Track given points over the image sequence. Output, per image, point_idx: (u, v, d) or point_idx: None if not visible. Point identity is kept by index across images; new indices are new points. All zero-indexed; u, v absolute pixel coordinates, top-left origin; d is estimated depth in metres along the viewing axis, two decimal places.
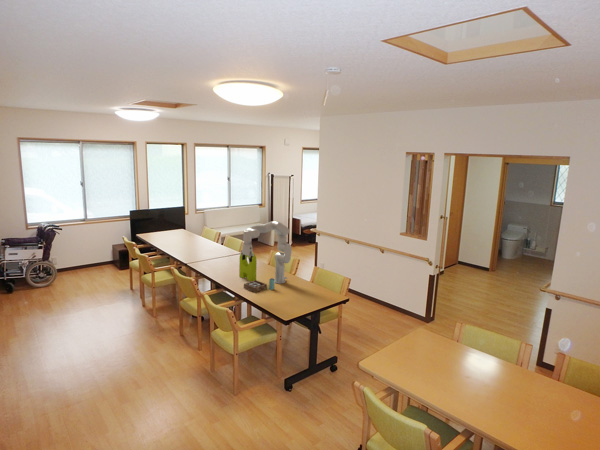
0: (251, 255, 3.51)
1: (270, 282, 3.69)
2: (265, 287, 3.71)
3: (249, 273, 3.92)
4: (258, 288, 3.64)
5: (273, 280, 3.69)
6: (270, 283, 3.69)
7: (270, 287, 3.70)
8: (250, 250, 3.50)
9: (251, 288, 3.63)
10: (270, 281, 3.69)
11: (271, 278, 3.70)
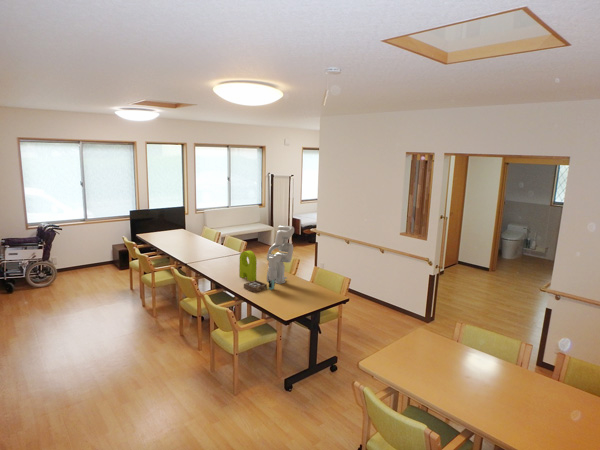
0: None
1: None
2: (265, 287, 3.71)
3: (249, 273, 3.92)
4: (258, 288, 3.64)
5: (273, 280, 3.69)
6: None
7: (270, 287, 3.70)
8: None
9: (251, 288, 3.63)
10: None
11: None
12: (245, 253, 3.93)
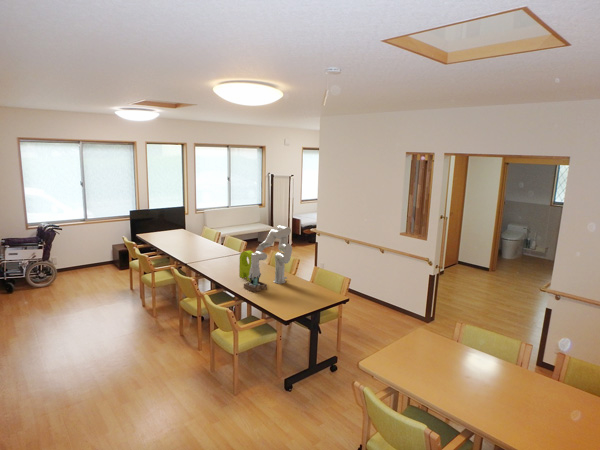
0: (257, 275, 3.74)
1: (253, 281, 3.69)
2: (265, 287, 3.71)
3: (249, 273, 3.92)
4: (258, 288, 3.64)
5: (256, 279, 3.70)
6: (253, 282, 3.70)
7: None
8: None
9: (251, 288, 3.63)
10: (253, 280, 3.69)
11: (254, 277, 3.70)
12: (245, 253, 3.93)
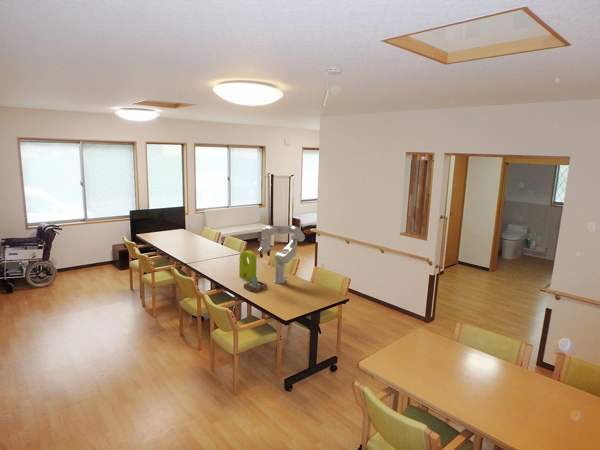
0: None
1: (253, 281, 3.69)
2: (265, 287, 3.71)
3: (249, 273, 3.92)
4: (258, 288, 3.64)
5: (256, 279, 3.70)
6: (253, 282, 3.70)
7: None
8: None
9: (251, 288, 3.63)
10: (253, 280, 3.69)
11: (254, 277, 3.70)
12: (245, 253, 3.93)
